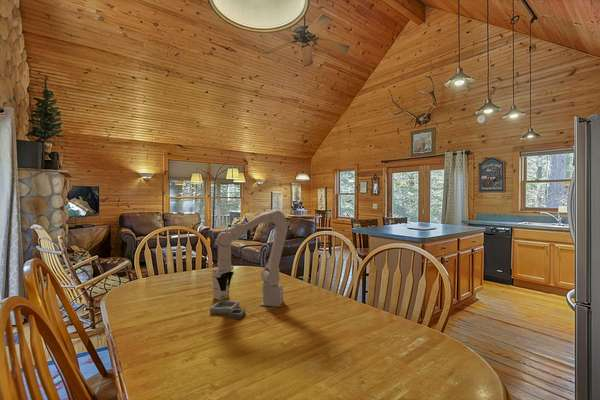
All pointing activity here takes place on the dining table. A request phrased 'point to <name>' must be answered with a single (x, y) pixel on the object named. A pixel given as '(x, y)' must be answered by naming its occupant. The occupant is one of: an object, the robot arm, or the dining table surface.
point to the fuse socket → (236, 313)
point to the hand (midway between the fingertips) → (224, 289)
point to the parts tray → (224, 307)
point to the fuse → (225, 293)
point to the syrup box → (217, 288)
